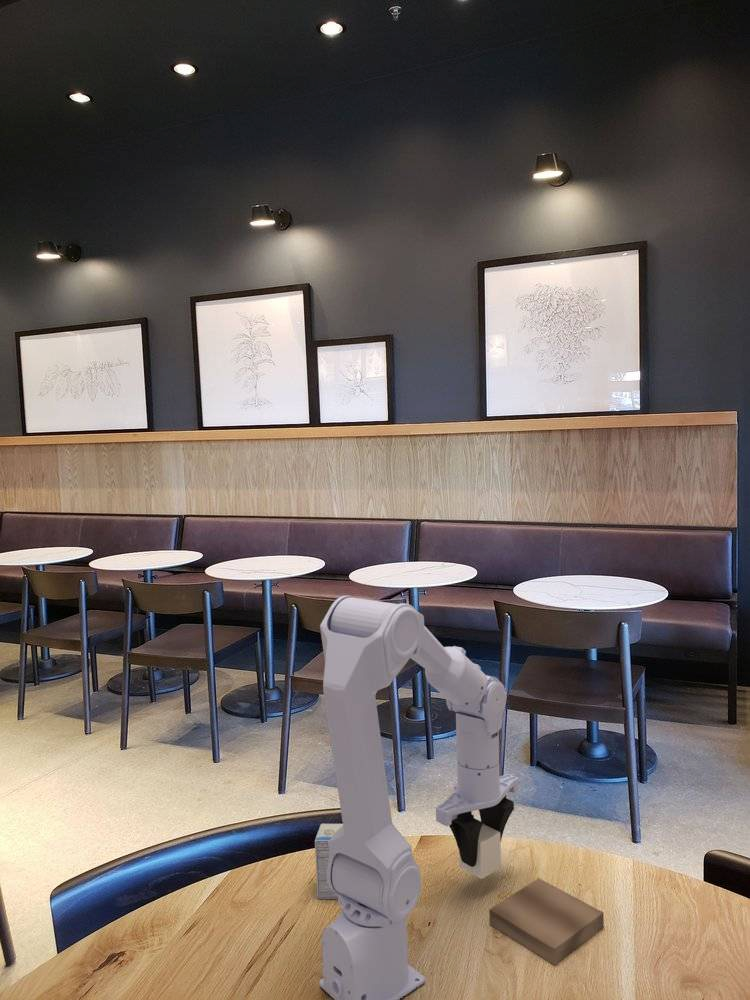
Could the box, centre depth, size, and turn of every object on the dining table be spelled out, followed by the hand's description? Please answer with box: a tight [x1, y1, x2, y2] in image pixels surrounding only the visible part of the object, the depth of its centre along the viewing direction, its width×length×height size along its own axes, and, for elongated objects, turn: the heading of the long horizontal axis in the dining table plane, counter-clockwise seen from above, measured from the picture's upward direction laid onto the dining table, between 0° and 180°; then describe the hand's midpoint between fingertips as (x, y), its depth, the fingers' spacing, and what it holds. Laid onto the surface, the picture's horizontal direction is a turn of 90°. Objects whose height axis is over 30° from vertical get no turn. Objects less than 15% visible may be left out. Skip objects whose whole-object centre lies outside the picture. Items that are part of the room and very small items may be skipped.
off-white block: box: [458, 824, 502, 880], centre depth 101 cm, size 4×4×5 cm
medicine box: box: [314, 823, 343, 900], centre depth 101 cm, size 8×4×9 cm, turn 84°
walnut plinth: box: [489, 877, 605, 966], centre depth 93 cm, size 10×10×2 cm
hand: (480, 856), depth 101 cm, fingers closed on off-white block, 4 cm apart
